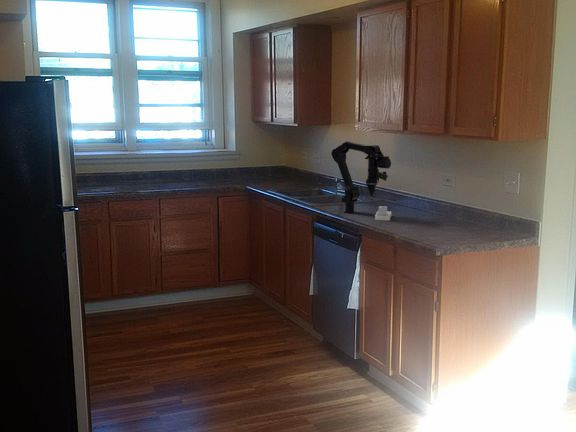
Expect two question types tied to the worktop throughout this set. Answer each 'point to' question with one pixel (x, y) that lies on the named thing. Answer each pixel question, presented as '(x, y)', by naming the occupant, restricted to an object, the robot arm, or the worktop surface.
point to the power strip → (383, 216)
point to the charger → (382, 210)
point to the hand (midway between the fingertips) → (372, 194)
